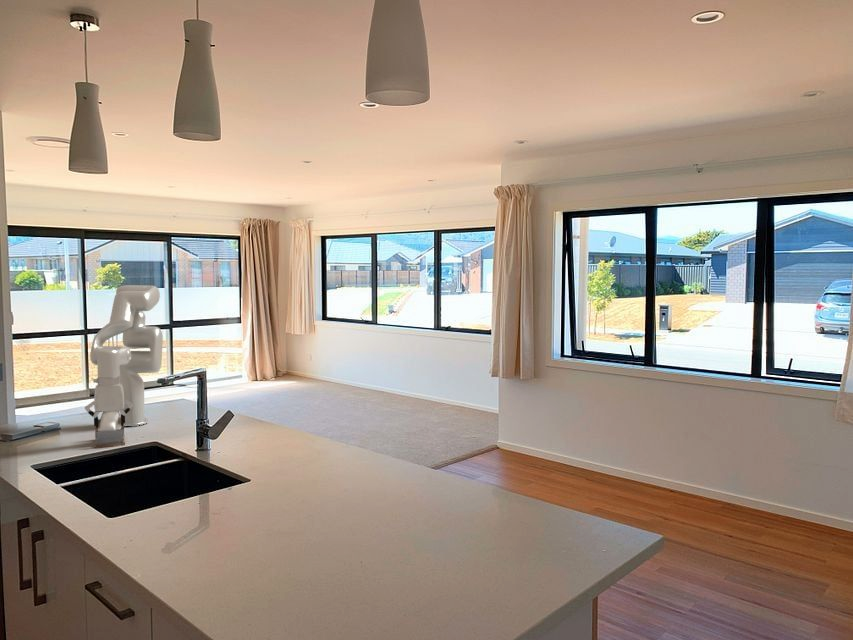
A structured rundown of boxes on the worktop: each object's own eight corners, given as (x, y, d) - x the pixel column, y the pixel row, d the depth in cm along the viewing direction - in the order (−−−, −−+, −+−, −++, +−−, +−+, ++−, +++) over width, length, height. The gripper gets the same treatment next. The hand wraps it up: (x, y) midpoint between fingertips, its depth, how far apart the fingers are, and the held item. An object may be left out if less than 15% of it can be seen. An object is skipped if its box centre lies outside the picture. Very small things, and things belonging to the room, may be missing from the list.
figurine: (114, 440, 235) (113, 409, 234) (94, 440, 235) (93, 409, 234) (123, 436, 242) (123, 405, 241) (104, 435, 242) (103, 405, 241)
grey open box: (95, 439, 242) (95, 419, 241) (123, 436, 246) (123, 417, 246) (95, 448, 230) (94, 426, 230) (125, 445, 235) (124, 424, 234)
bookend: (96, 442, 234) (96, 429, 234) (123, 440, 238) (123, 427, 238) (96, 445, 230) (96, 432, 230) (123, 442, 235) (123, 429, 234)
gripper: (82, 384, 229) (83, 430, 231) (134, 381, 237) (135, 426, 239) (83, 381, 236) (84, 426, 237) (133, 378, 244) (134, 422, 245)
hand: (109, 426), depth 238 cm, fingers closed on figurine, 8 cm apart
